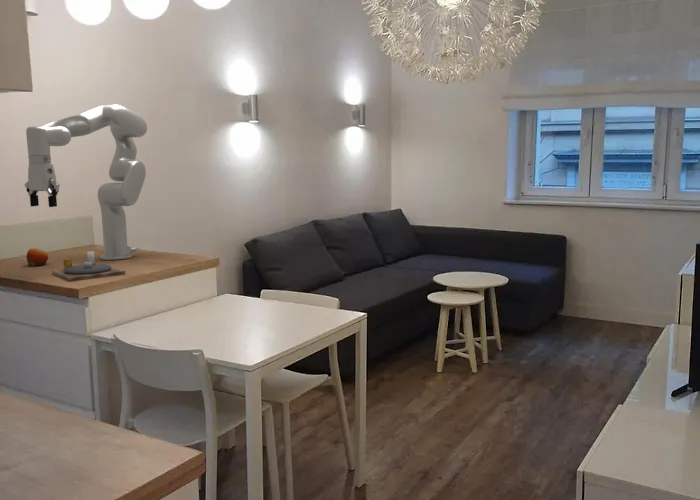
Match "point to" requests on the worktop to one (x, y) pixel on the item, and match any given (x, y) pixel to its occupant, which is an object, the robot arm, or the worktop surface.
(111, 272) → the stand
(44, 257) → the fruit
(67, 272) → the grey pot lid
